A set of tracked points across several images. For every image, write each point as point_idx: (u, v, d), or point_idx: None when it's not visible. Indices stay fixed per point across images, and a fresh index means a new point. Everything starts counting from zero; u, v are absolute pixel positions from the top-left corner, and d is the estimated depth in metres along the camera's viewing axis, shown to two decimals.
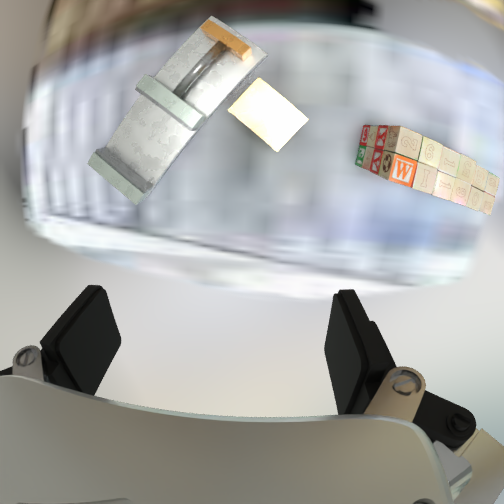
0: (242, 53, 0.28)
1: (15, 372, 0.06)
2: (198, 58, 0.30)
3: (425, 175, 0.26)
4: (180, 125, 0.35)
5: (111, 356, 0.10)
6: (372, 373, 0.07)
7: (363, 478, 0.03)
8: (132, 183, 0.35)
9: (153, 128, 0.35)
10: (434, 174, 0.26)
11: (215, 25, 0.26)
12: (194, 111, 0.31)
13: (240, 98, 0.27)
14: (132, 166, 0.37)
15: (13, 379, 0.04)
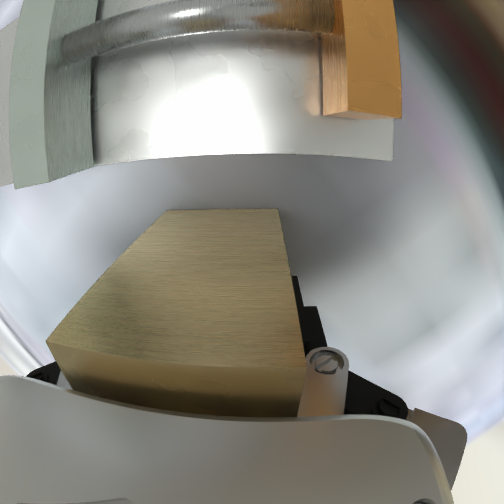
0: (357, 104, 0.06)
1: None
2: None
3: None
4: None
5: None
6: None
7: (363, 478, 0.03)
8: None
9: None
10: None
11: None
12: (41, 149, 0.07)
13: (123, 363, 0.04)
14: None
15: (13, 379, 0.04)
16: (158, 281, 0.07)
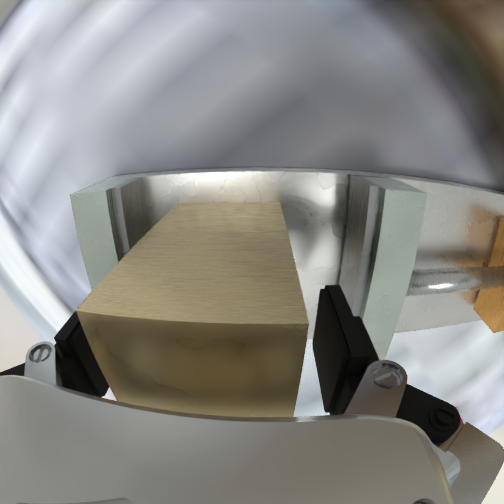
0: (496, 330, 0.13)
1: (27, 368, 0.06)
2: (461, 241, 0.14)
3: None
4: None
5: None
6: (353, 366, 0.07)
7: (363, 478, 0.03)
8: None
9: None
10: None
11: None
12: (382, 359, 0.13)
13: (151, 325, 0.05)
14: None
15: (13, 379, 0.04)
16: (177, 261, 0.08)
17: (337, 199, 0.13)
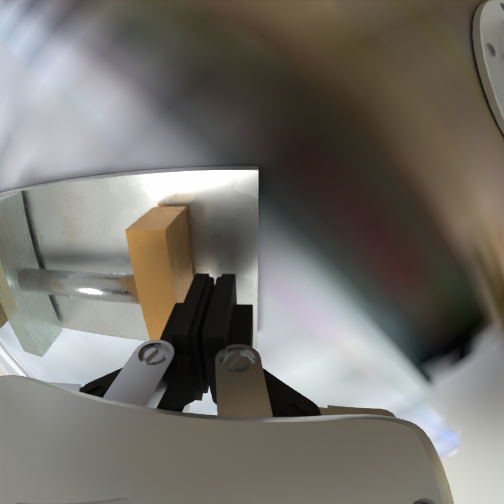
0: None
1: (130, 363, 0.07)
2: None
3: None
4: None
5: None
6: (213, 346, 0.08)
7: (363, 478, 0.03)
8: None
9: None
10: None
11: (163, 265, 0.10)
12: (33, 343, 0.13)
13: None
14: None
15: (13, 379, 0.04)
16: None
17: None
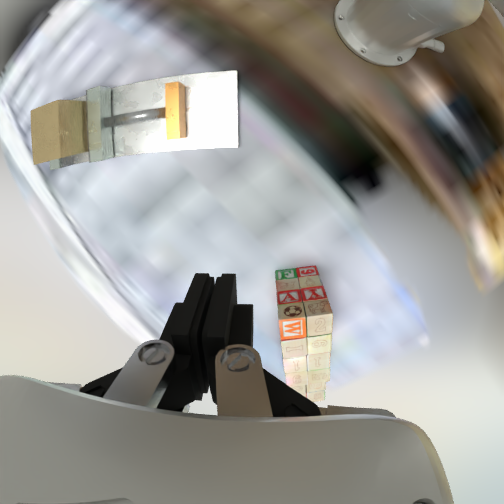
0: (168, 138, 0.30)
1: (130, 363, 0.07)
2: (186, 99, 0.31)
3: (297, 347, 0.32)
4: (124, 140, 0.33)
5: None
6: (213, 346, 0.08)
7: (363, 478, 0.03)
8: None
9: None
10: (301, 354, 0.33)
11: (176, 92, 0.27)
12: (100, 151, 0.30)
13: (40, 108, 0.22)
14: None
15: (13, 379, 0.04)
16: None
17: (124, 93, 0.30)
